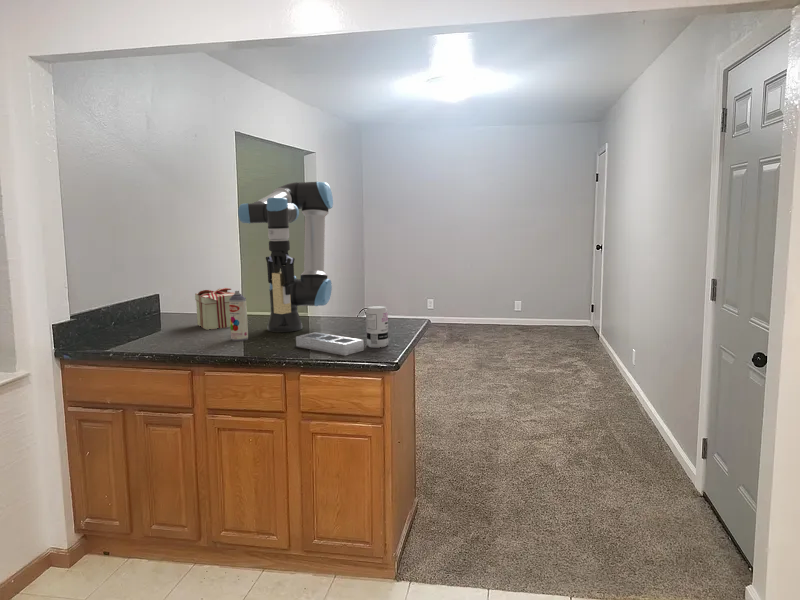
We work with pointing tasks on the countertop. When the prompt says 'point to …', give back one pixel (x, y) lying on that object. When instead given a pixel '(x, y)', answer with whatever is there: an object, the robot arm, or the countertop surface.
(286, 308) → the brass peg
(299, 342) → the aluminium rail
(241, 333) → the aerosol can
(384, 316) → the supplement can
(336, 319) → the countertop surface
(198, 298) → the gift box
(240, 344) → the countertop surface
